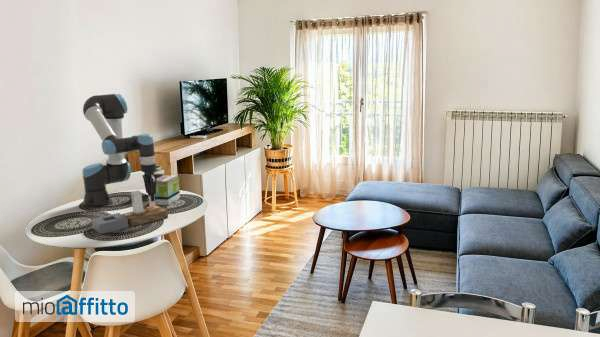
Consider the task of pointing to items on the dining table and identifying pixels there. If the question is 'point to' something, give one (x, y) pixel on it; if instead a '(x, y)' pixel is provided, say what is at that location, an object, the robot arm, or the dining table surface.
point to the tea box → (167, 190)
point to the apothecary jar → (158, 172)
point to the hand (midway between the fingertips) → (152, 206)
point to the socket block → (146, 216)
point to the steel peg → (137, 203)
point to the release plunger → (152, 209)
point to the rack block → (109, 223)
